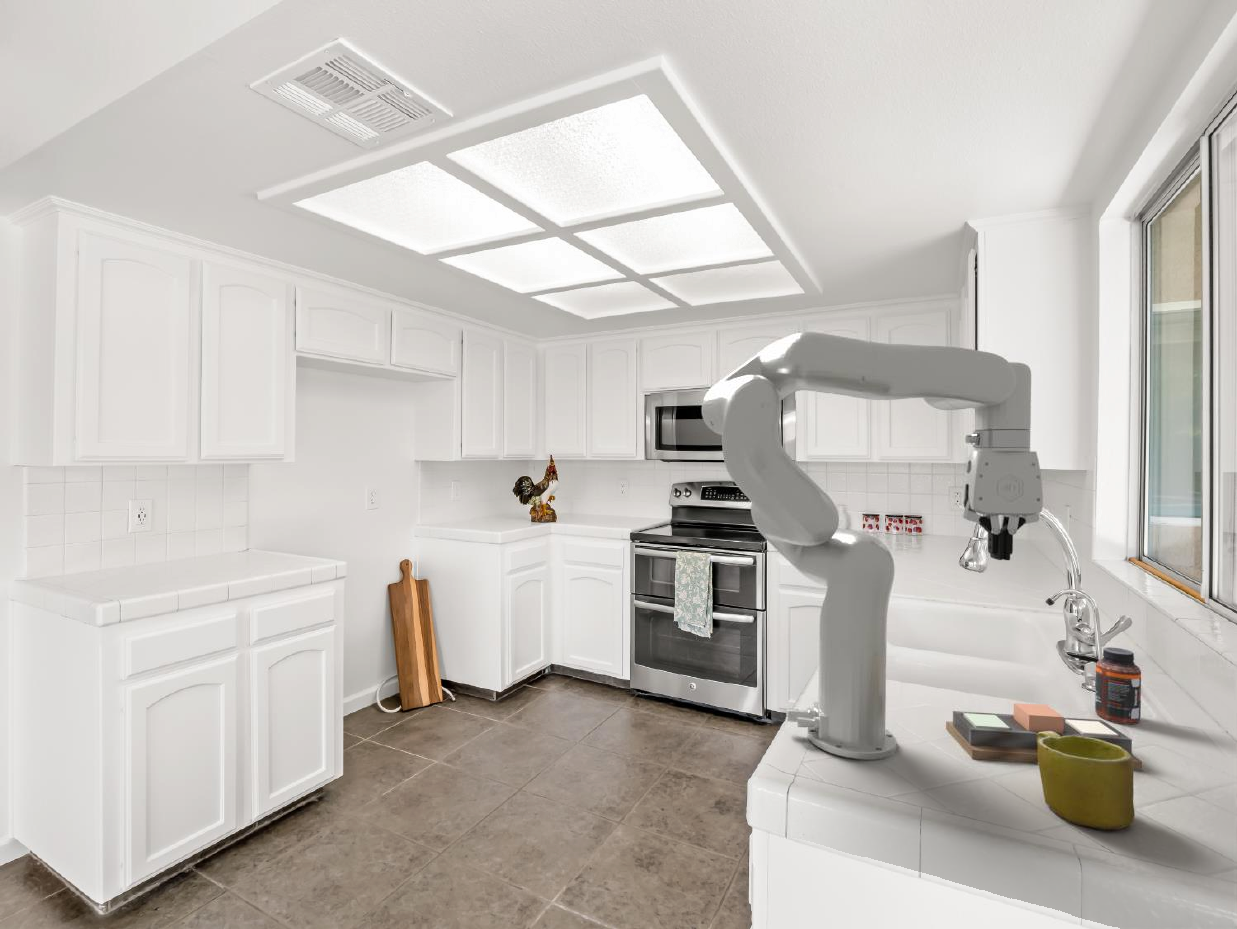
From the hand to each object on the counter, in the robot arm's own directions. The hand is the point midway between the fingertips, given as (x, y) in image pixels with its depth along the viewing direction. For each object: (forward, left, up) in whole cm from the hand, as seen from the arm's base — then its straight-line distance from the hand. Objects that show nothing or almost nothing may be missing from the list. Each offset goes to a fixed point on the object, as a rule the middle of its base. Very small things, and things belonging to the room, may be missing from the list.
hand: (1000, 558), depth 100 cm
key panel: (+3, -6, -27) cm, 28 cm away
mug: (0, -22, -27) cm, 35 cm away
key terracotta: (+3, -6, -24) cm, 25 cm away
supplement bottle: (+22, +8, -27) cm, 36 cm away
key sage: (-4, -6, -26) cm, 27 cm away
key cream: (+10, -6, -26) cm, 28 cm away
